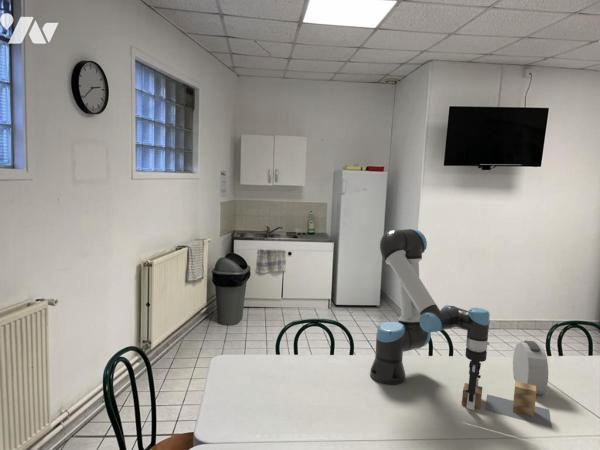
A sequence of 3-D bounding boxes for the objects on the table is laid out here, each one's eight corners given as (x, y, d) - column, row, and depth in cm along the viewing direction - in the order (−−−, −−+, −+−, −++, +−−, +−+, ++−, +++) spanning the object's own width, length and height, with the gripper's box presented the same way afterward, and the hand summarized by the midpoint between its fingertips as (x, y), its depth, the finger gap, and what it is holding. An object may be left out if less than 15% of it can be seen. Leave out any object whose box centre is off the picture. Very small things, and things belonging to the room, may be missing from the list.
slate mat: (484, 410, 161) (484, 409, 161) (487, 395, 174) (487, 394, 173) (551, 428, 151) (551, 427, 151) (548, 410, 164) (549, 409, 164)
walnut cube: (461, 405, 165) (463, 389, 164) (463, 398, 170) (464, 382, 170) (479, 410, 162) (481, 394, 161) (480, 402, 167) (482, 387, 167)
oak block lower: (512, 411, 161) (513, 399, 160) (512, 405, 165) (514, 393, 165) (533, 417, 158) (535, 404, 157) (533, 410, 162) (534, 398, 162)
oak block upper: (513, 399, 160) (515, 386, 160) (514, 393, 165) (515, 381, 164) (535, 404, 157) (536, 391, 157) (534, 398, 162) (535, 385, 161)
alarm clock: (546, 400, 172) (551, 353, 170) (526, 397, 173) (531, 351, 171) (528, 377, 192) (533, 334, 190) (511, 374, 194) (515, 333, 192)
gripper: (484, 362, 151) (479, 418, 153) (488, 340, 173) (484, 390, 175) (462, 357, 154) (457, 412, 156) (469, 336, 176) (465, 385, 178)
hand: (472, 401), depth 166 cm, fingers open, 13 cm apart
